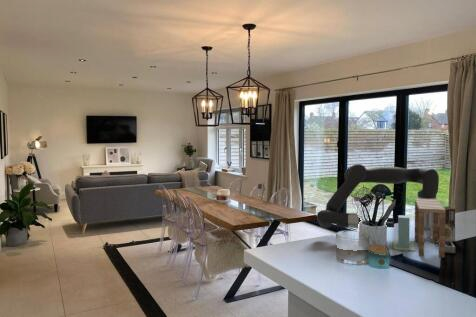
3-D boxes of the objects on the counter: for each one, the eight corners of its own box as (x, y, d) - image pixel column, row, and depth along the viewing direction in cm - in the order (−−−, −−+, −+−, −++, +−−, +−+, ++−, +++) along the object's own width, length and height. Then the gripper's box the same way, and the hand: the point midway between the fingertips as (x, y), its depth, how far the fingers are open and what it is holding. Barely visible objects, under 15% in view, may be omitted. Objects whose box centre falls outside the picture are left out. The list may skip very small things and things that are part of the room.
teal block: (398, 243, 174) (398, 215, 173) (408, 244, 172) (408, 215, 171) (398, 246, 170) (398, 217, 168) (409, 247, 168) (409, 218, 167)
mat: (393, 241, 178) (393, 241, 178) (413, 243, 175) (413, 242, 175) (393, 249, 167) (393, 248, 167) (415, 251, 164) (415, 250, 164)
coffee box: (449, 237, 182) (449, 206, 181) (455, 241, 176) (456, 208, 175) (430, 237, 183) (430, 206, 182) (435, 241, 177) (436, 209, 176)
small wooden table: (414, 240, 179) (414, 198, 178) (437, 241, 176) (437, 199, 174) (418, 255, 158) (419, 208, 157) (444, 257, 154) (445, 209, 153)
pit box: (441, 246, 169) (441, 240, 169) (451, 247, 167) (451, 241, 167) (444, 252, 160) (444, 246, 160) (455, 253, 159) (455, 247, 159)
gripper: (357, 216, 171) (394, 218, 165) (359, 210, 184) (393, 211, 178) (357, 232, 171) (394, 234, 165) (359, 224, 185) (393, 226, 179)
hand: (393, 222), depth 172 cm, fingers open, 8 cm apart
